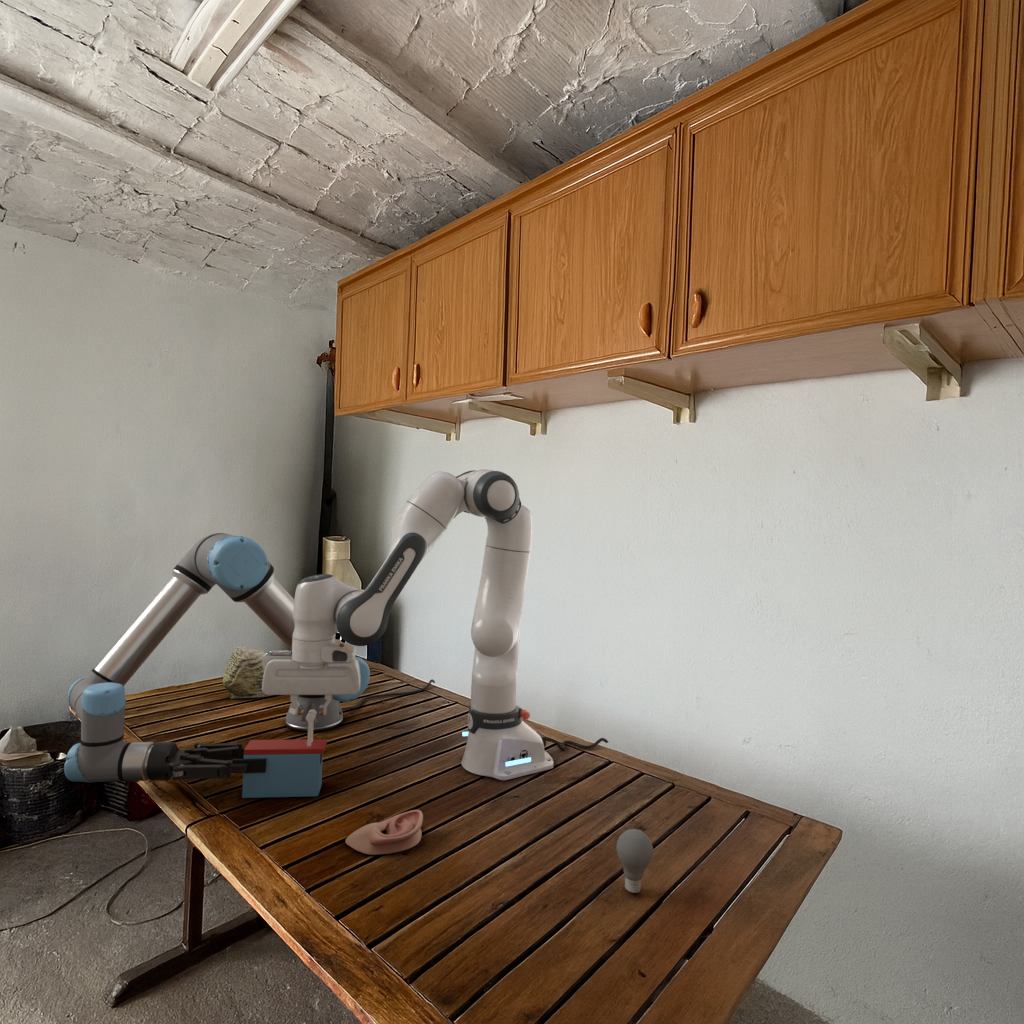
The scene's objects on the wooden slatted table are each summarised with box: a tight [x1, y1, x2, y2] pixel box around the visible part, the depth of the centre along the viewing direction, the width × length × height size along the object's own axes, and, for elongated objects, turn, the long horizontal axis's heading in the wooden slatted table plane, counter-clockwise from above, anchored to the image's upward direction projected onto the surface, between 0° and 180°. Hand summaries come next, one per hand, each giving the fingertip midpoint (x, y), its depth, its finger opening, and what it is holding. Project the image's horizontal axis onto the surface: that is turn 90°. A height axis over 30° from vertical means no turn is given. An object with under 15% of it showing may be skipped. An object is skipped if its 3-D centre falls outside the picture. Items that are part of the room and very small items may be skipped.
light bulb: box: [615, 828, 654, 894], centre depth 106 cm, size 6×6×10 cm
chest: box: [241, 753, 324, 799], centre depth 135 cm, size 15×5×9 cm, turn 99°
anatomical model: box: [344, 809, 424, 856], centre depth 118 cm, size 13×4×12 cm
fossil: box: [222, 646, 273, 699], centre depth 198 cm, size 9×18×15 cm, turn 132°
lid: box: [244, 709, 328, 755], centre depth 135 cm, size 16×5×8 cm, turn 98°
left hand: (268, 759), depth 135 cm, fingers closed on chest, 5 cm apart
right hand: (311, 714), depth 136 cm, fingers open, 3 cm apart
